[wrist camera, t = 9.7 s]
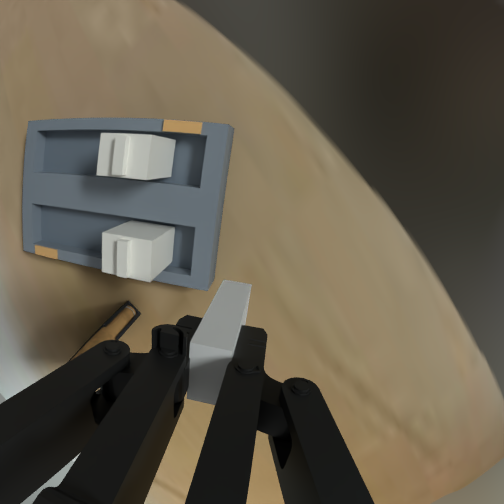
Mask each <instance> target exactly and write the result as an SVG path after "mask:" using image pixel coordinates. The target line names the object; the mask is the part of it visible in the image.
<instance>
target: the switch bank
mask: <svg viewBox="0 0 504 504" xmlns="http://www.w3.org/2000/svg"><path fill="white" fill-rule="evenodd" d="M101 133H126V134H147V135H156V136H160V137H165V138H169V139H174V140H176V143H175V150H174V158H173V166H172V174H171V177H166V178H158V179H151V180H141V179H131V178H121V177H111V176H99V175H97V164H98V154H99V145H100V137H101ZM233 134H234V128H233V127H232V126H230V125H229V124H219V123H209V122H198V121H185V120H169V119H148V118H71V119H51V120H37V121H28V129H27V137H26V147H25V158H24V173H23V201H22V219H23V247H24V251H27V252H31V253H35V254H37V255H41V256H45V257H49V258H53V259H59V260H63V261H67V262H72V263H76V264H80V265H84V266H89V267H93V268H98V269H102V232H104V231H107V230H109V229H111V228H114V227H116V226H119V225H121V224H123V223H126V222H128V221H131V220H134V221H141V222H147V223H154V224H160V225H167V226H173V227H175V234H174V246H173V258H172V262H171V263H170V264H169V265H168V266H167V267H166V268H165V269H164V270H163V271H162V272H161V273H160V274H158V275H157V276H156V277H155V278H154V279H153V280H154V281H158V282H163V283H168V284H174V285H179V286H184V287H189V288H194V289H200V290H205V291H208V289H209V288H210V286H211V284H212V282H213V281H214V277H215V268H216V260H217V251H218V243H219V235H220V227H221V219H222V212H223V204H224V197H225V189H226V182H227V175H228V168H229V161H230V154H231V147H232V141H233Z"/></svg>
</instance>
